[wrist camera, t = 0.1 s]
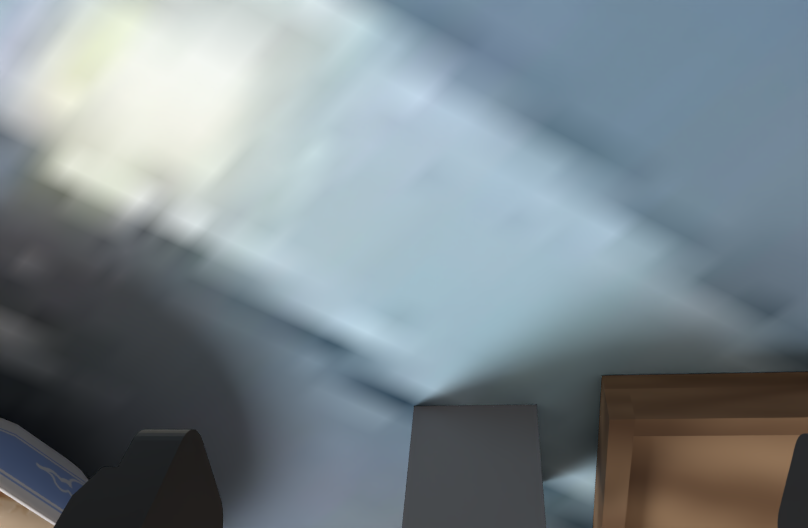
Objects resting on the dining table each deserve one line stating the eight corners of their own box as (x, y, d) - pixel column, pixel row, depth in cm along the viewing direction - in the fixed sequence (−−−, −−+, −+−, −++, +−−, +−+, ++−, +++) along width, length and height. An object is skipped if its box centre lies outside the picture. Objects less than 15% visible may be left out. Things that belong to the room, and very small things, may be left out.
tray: (601, 375, 33) (609, 419, 31) (931, 369, 31) (962, 415, 29) (591, 555, 40) (596, 599, 38) (855, 558, 38) (876, 605, 36)
